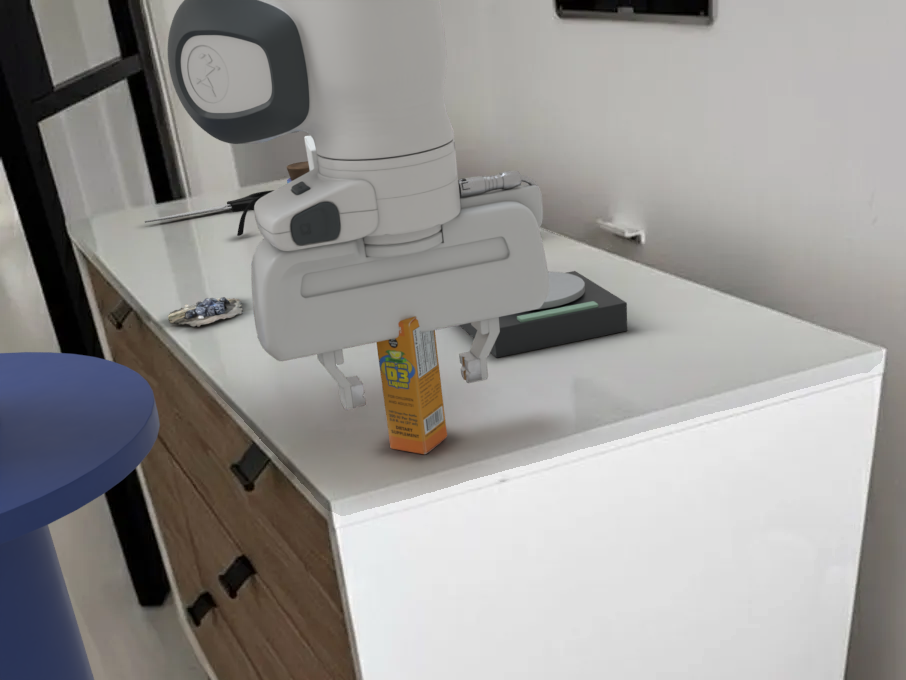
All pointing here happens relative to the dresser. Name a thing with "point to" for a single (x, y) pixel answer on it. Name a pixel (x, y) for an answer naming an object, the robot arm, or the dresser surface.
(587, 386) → the dresser surface
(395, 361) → the supplement box
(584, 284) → the kitchen scale
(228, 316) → the blueberries
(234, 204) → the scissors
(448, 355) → the dresser surface
